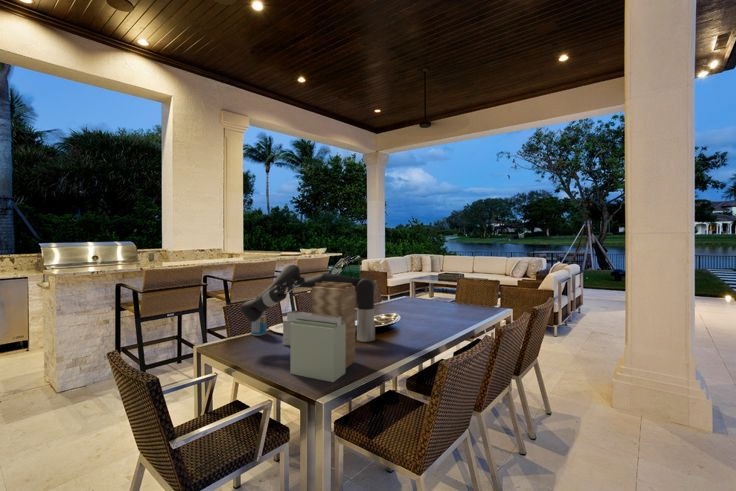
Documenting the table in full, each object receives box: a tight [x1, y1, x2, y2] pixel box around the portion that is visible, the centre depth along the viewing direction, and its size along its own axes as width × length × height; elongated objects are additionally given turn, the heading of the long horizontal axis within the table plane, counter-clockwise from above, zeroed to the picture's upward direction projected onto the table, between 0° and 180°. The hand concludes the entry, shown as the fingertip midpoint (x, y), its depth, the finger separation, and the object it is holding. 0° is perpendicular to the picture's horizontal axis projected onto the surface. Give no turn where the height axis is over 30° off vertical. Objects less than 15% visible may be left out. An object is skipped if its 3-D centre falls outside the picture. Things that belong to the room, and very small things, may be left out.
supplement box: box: [282, 318, 292, 346], centre depth 185 cm, size 7×7×13 cm
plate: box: [268, 322, 283, 335], centre depth 213 cm, size 27×27×2 cm
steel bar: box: [286, 310, 341, 327], centre depth 145 cm, size 24×4×4 cm, turn 65°
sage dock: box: [289, 320, 346, 383], centre depth 145 cm, size 20×10×22 cm, turn 65°
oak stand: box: [311, 282, 356, 369], centre depth 156 cm, size 15×12×36 cm
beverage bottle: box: [250, 298, 267, 337], centre depth 203 cm, size 8×8×20 cm
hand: (298, 280), depth 164 cm, fingers open, 8 cm apart
